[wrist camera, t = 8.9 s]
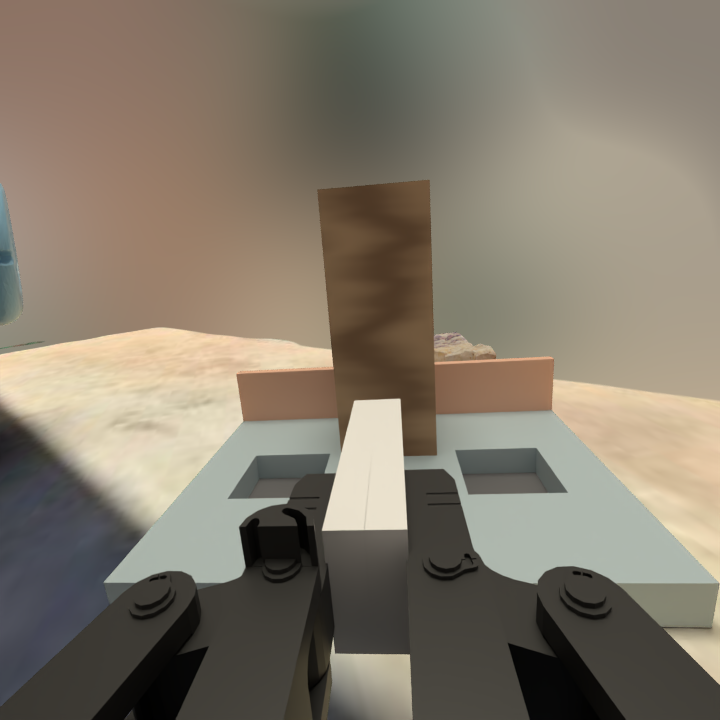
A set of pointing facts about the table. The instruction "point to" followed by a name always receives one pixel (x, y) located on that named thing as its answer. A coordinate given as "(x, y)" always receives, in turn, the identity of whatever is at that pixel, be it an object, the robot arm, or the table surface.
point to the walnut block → (382, 302)
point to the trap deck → (459, 459)
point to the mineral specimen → (459, 349)
